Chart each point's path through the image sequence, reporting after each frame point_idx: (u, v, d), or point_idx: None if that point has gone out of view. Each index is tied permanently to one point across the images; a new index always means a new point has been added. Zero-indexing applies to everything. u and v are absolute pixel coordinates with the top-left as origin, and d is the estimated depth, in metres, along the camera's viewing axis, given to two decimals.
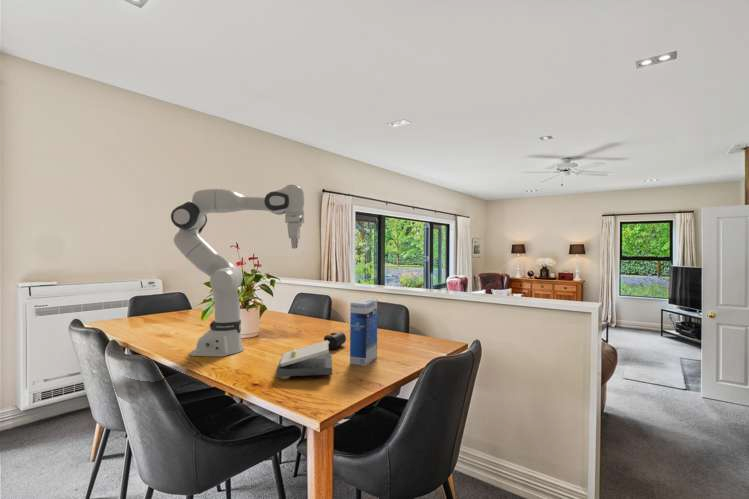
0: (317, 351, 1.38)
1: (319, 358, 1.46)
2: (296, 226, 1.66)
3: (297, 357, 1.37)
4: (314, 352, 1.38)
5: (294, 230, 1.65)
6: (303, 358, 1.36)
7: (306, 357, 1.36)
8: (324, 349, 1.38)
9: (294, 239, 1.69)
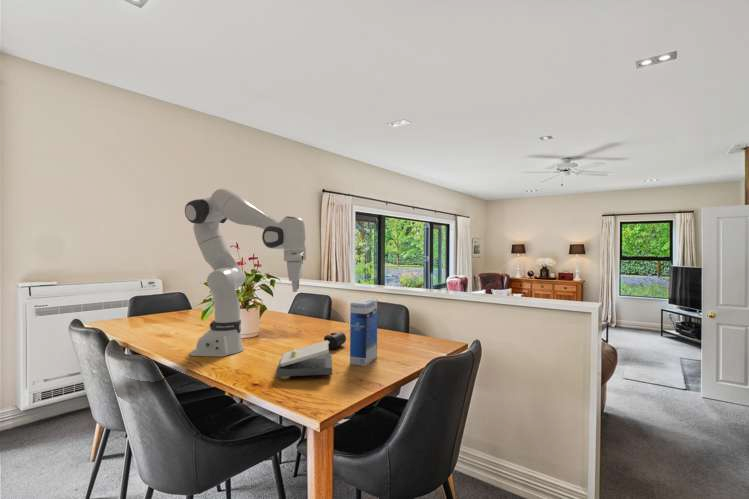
0: (317, 351, 1.38)
1: (319, 358, 1.46)
2: (297, 266, 1.40)
3: (297, 357, 1.37)
4: (314, 352, 1.38)
5: (294, 271, 1.40)
6: (303, 358, 1.36)
7: (306, 357, 1.36)
8: (324, 349, 1.38)
9: (295, 281, 1.43)
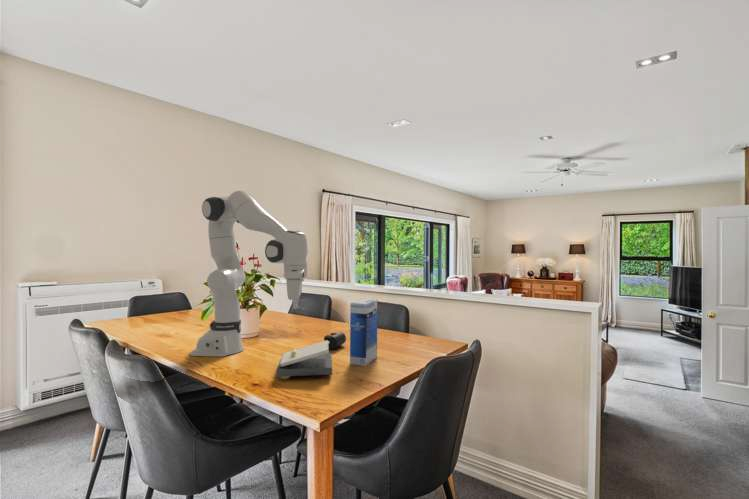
0: (317, 351, 1.38)
1: (319, 358, 1.46)
2: (297, 285, 1.33)
3: (297, 357, 1.37)
4: (314, 352, 1.38)
5: (294, 289, 1.32)
6: (303, 358, 1.36)
7: (306, 357, 1.36)
8: (324, 349, 1.38)
9: None
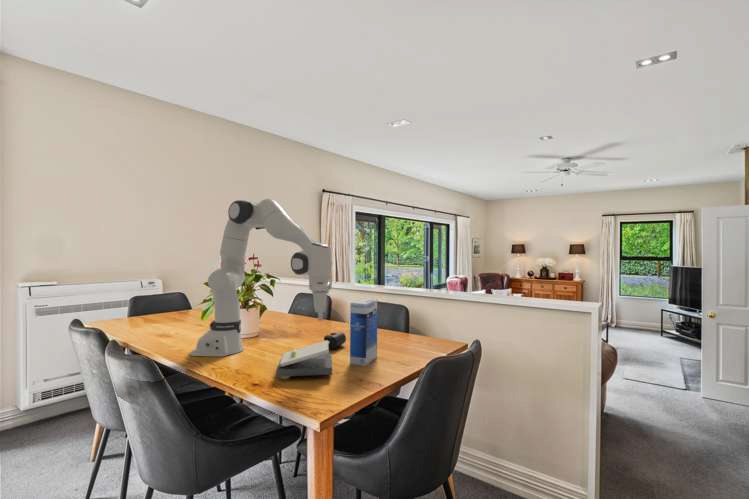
0: (317, 351, 1.38)
1: (319, 358, 1.46)
2: (324, 297, 1.34)
3: (297, 357, 1.37)
4: (314, 352, 1.38)
5: (321, 302, 1.34)
6: (303, 358, 1.36)
7: (306, 357, 1.36)
8: (324, 349, 1.38)
9: None
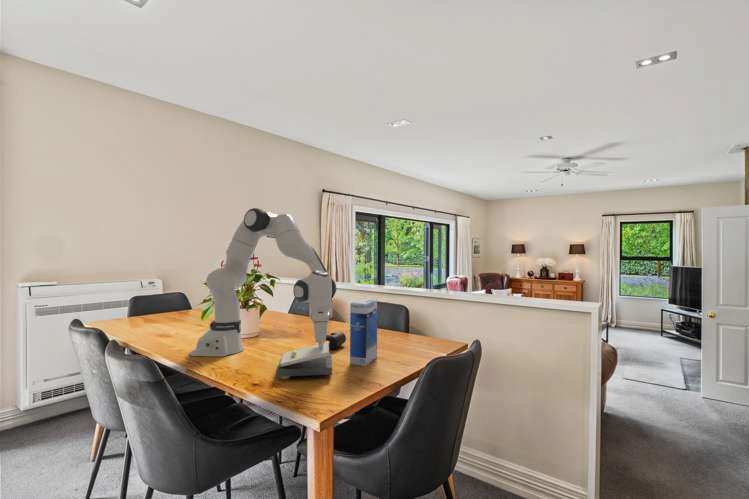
0: (317, 353, 1.38)
1: (319, 358, 1.46)
2: (325, 327, 1.34)
3: (297, 358, 1.37)
4: (314, 354, 1.38)
5: (322, 332, 1.34)
6: (303, 359, 1.36)
7: (306, 358, 1.36)
8: (325, 351, 1.38)
9: None
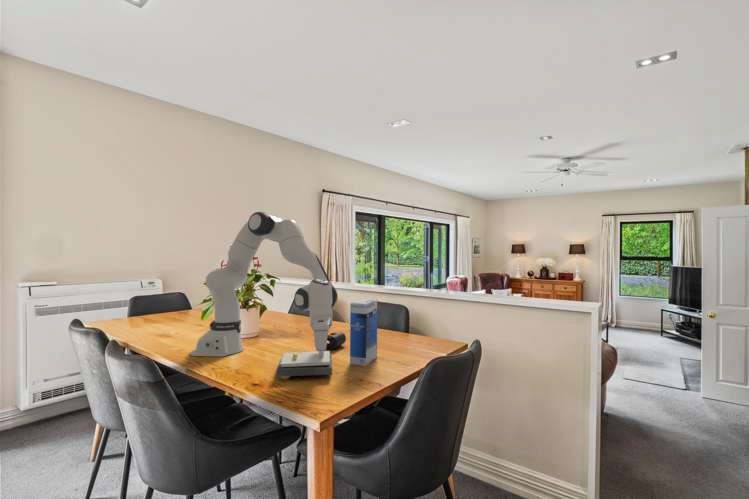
0: (319, 360, 1.38)
1: None
2: (325, 336, 1.34)
3: (298, 361, 1.37)
4: (316, 361, 1.38)
5: (322, 341, 1.34)
6: (304, 364, 1.36)
7: (307, 364, 1.36)
8: (326, 360, 1.38)
9: None
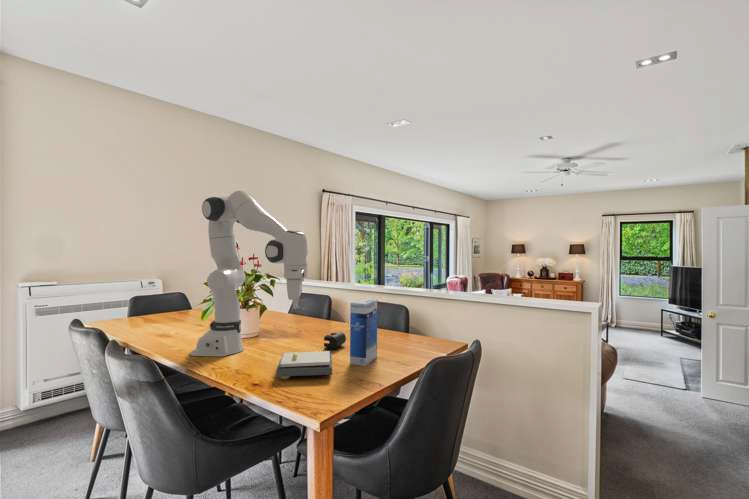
0: (319, 360, 1.38)
1: None
2: (297, 284, 1.33)
3: (298, 361, 1.37)
4: (316, 361, 1.38)
5: (294, 289, 1.32)
6: (304, 364, 1.36)
7: (307, 364, 1.36)
8: (326, 360, 1.38)
9: None
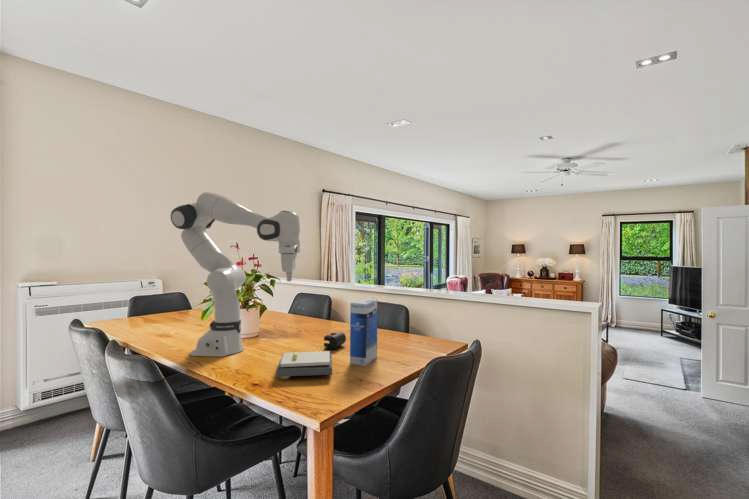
0: (319, 360, 1.38)
1: None
2: (291, 258, 1.48)
3: (298, 361, 1.37)
4: (316, 361, 1.38)
5: (288, 262, 1.48)
6: (304, 364, 1.36)
7: (307, 364, 1.36)
8: (326, 360, 1.38)
9: (289, 271, 1.55)
